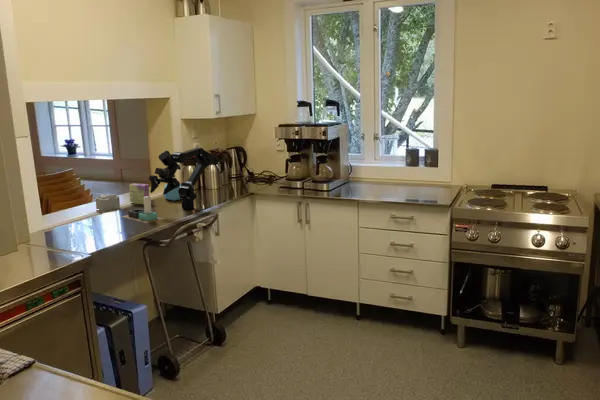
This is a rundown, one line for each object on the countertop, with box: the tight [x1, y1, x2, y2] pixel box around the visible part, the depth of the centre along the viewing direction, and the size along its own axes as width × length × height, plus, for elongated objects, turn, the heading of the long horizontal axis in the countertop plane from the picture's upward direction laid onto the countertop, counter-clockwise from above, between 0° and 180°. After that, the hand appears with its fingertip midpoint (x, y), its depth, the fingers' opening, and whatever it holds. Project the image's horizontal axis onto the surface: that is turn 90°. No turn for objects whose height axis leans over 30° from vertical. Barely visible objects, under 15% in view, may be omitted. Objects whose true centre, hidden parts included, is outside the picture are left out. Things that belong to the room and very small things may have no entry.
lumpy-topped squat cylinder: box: [95, 193, 121, 213], centre depth 301 cm, size 10×13×9 cm
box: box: [128, 182, 150, 205], centre depth 317 cm, size 10×6×12 cm, turn 74°
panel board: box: [120, 208, 165, 224], centre depth 279 cm, size 22×12×4 cm, turn 54°
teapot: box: [163, 181, 187, 202], centre depth 330 cm, size 12×18×12 cm
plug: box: [143, 195, 152, 215], centre depth 275 cm, size 4×4×12 cm
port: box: [139, 211, 158, 221], centre depth 276 cm, size 7×7×3 cm
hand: (157, 193), depth 280 cm, fingers open, 9 cm apart
